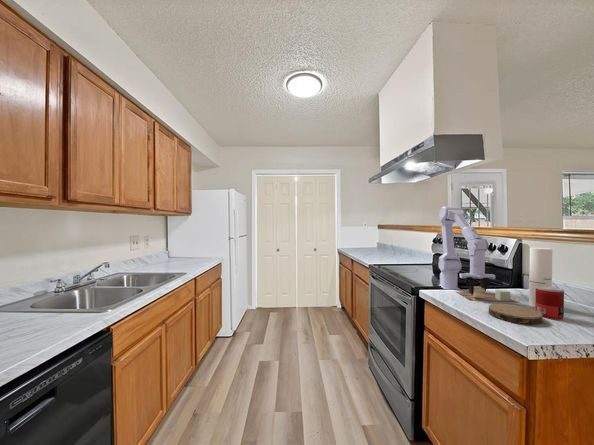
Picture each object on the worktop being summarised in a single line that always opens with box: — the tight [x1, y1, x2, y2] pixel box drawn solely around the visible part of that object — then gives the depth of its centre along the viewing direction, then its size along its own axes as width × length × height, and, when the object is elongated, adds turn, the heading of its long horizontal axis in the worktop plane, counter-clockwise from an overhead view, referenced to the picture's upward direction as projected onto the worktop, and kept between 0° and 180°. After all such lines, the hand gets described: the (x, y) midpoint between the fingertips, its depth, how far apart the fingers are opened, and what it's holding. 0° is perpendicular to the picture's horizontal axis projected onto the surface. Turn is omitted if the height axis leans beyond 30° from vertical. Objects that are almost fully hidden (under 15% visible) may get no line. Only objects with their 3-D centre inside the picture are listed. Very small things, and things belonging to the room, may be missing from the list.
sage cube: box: [494, 288, 511, 301], centre depth 125 cm, size 4×4×4 cm
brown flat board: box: [455, 291, 519, 304], centre depth 128 cm, size 15×20×1 cm
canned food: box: [534, 285, 565, 321], centre depth 104 cm, size 8×8×11 cm
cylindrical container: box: [528, 247, 553, 308], centre depth 115 cm, size 7×7×25 cm
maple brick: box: [470, 286, 486, 298], centre depth 126 cm, size 4×4×4 cm
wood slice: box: [488, 303, 543, 326], centre depth 103 cm, size 16×16×3 cm
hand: (476, 293), depth 126 cm, fingers closed on maple brick, 4 cm apart
